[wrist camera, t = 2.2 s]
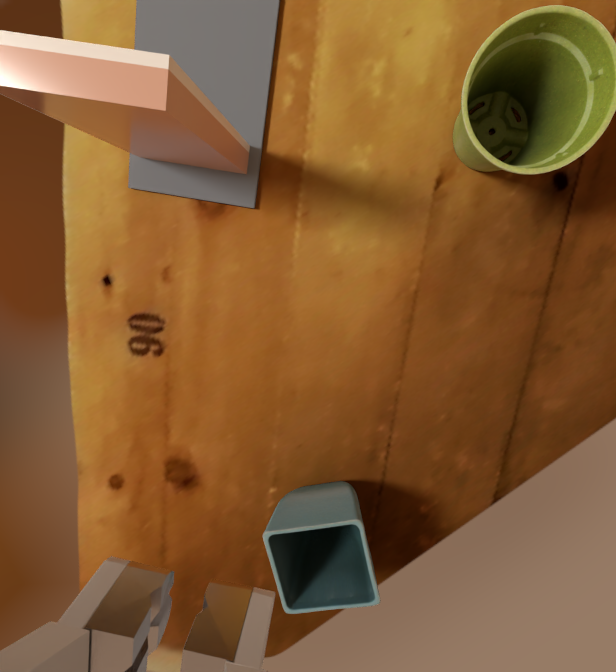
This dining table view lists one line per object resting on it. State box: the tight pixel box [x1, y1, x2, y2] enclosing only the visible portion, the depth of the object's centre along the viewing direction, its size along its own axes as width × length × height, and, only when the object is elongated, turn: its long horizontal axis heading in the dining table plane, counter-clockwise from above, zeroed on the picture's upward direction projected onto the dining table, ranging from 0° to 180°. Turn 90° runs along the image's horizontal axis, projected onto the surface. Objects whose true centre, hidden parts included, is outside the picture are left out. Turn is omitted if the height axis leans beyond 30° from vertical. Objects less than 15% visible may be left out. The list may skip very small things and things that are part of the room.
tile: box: [0, 30, 250, 174], centre depth 26 cm, size 2×10×16 cm, turn 81°
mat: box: [128, 0, 280, 209], centre depth 32 cm, size 22×12×1 cm, turn 171°
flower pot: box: [263, 481, 380, 614], centre depth 37 cm, size 9×9×9 cm
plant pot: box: [453, 5, 616, 175], centre depth 28 cm, size 9×9×9 cm
